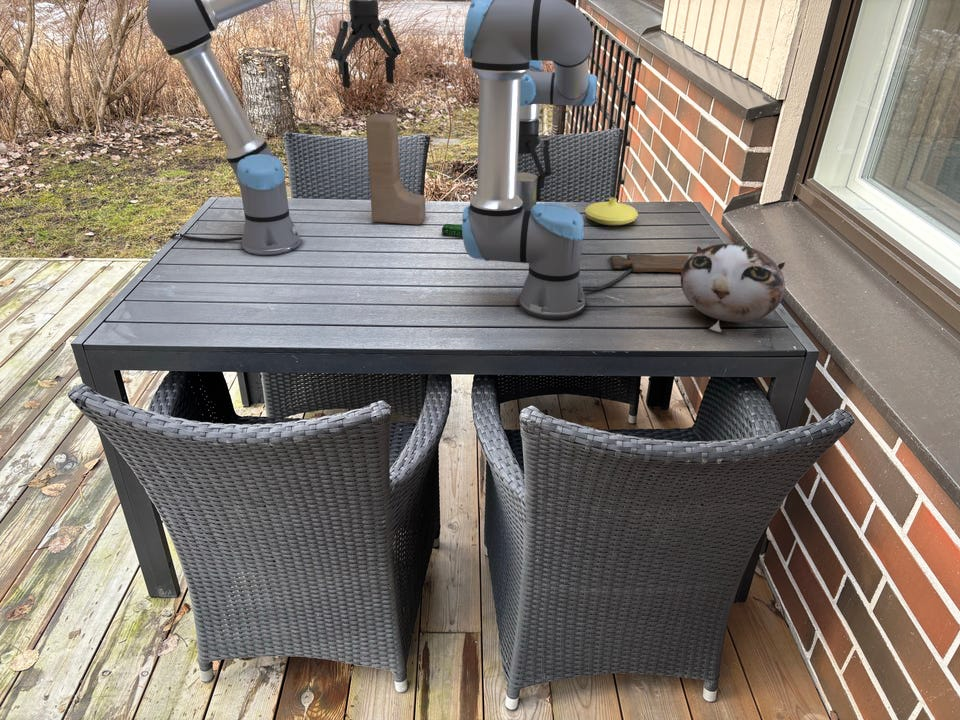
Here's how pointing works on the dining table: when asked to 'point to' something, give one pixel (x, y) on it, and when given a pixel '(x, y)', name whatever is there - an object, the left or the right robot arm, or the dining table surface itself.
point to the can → (527, 189)
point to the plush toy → (732, 283)
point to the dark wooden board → (650, 263)
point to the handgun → (452, 230)
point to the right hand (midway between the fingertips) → (521, 199)
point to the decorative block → (389, 175)
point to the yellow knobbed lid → (611, 213)
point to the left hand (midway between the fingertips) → (368, 85)
